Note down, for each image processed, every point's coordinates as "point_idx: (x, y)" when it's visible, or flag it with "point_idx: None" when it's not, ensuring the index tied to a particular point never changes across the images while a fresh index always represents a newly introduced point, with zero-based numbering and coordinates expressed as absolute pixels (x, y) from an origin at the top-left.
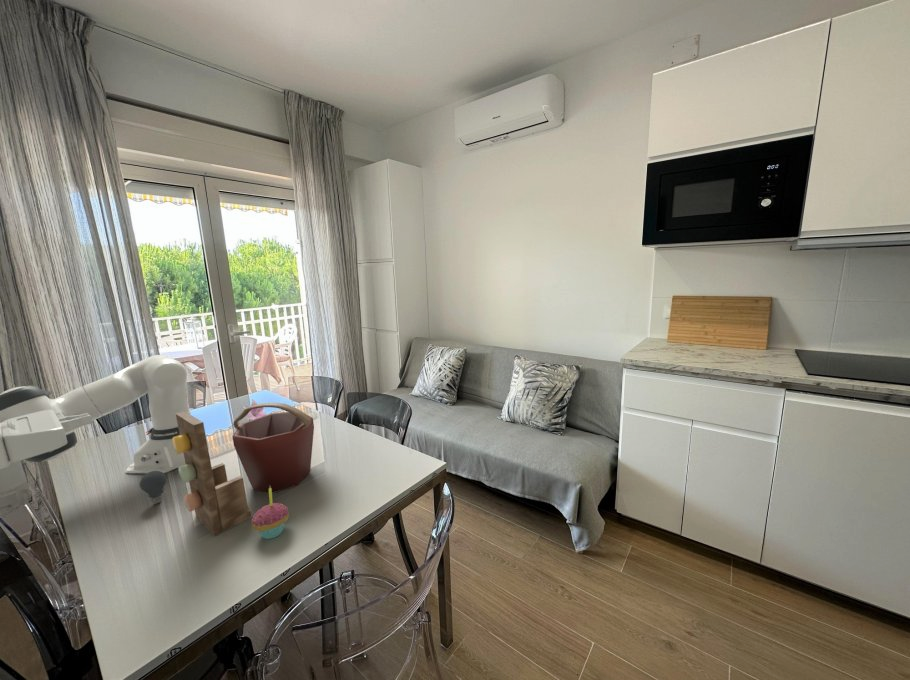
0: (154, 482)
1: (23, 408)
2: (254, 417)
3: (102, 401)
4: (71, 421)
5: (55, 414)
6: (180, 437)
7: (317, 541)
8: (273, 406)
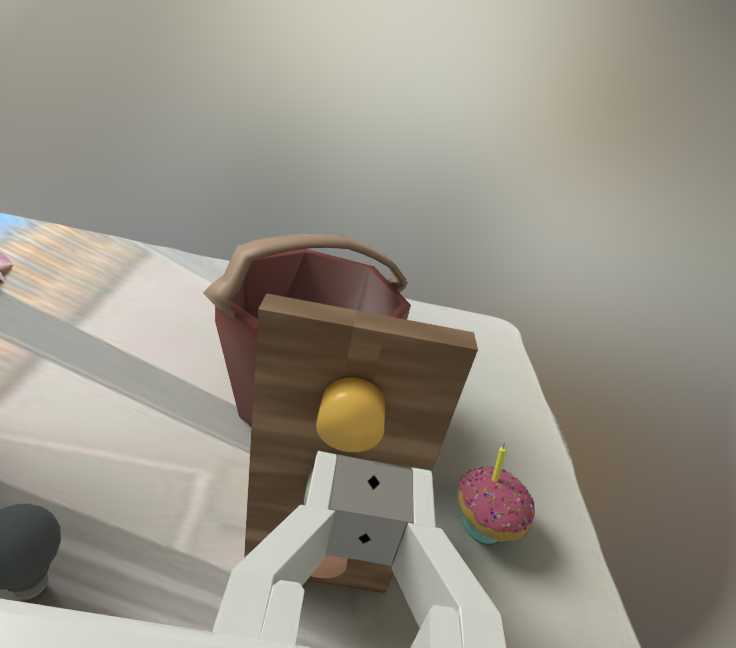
0: (47, 547)
1: None
2: None
3: None
4: (482, 597)
5: (120, 620)
6: (370, 397)
7: (572, 505)
8: (335, 245)
